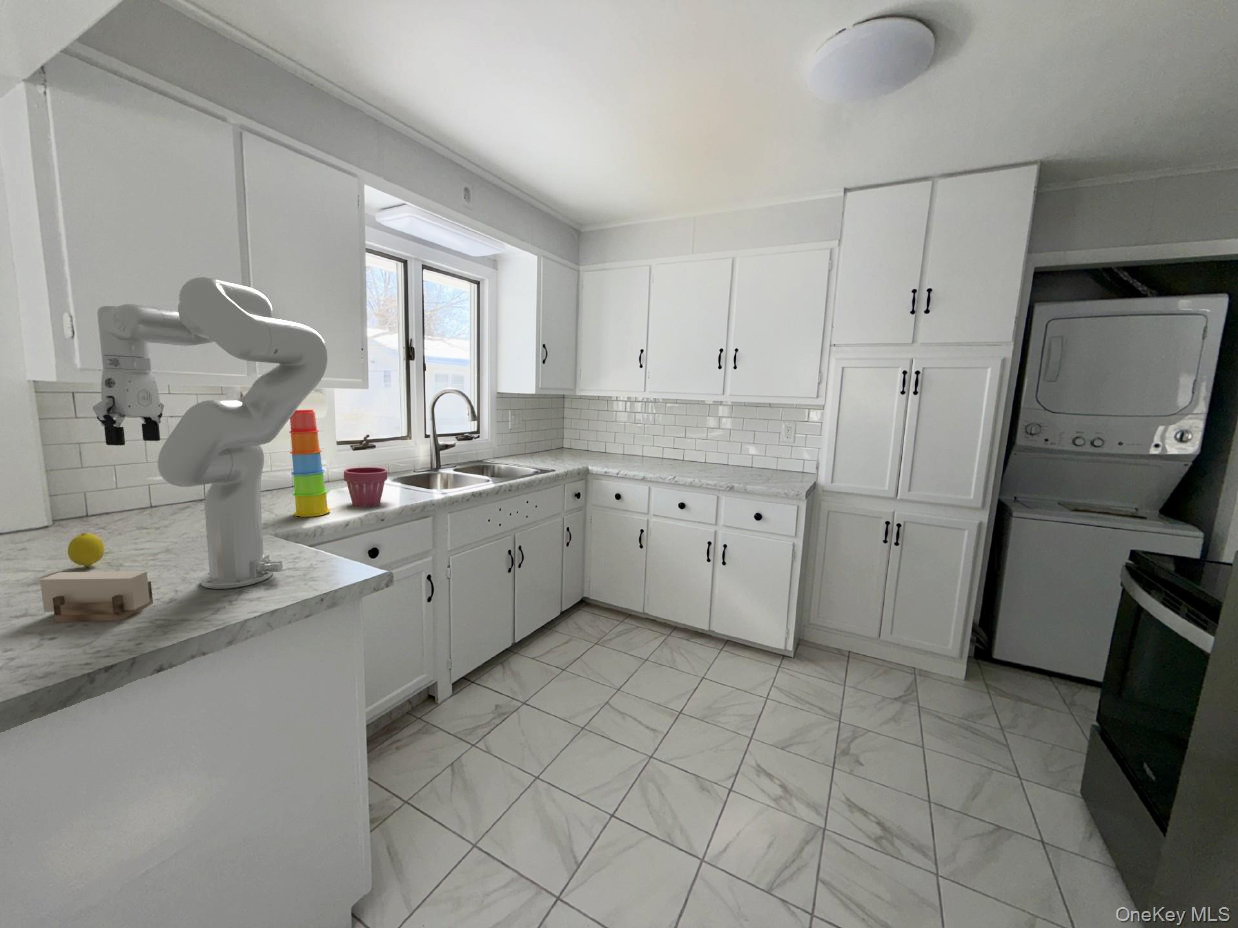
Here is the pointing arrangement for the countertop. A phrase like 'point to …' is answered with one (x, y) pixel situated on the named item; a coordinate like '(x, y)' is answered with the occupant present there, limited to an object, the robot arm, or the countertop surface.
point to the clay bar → (96, 588)
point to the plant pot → (365, 485)
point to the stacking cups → (307, 466)
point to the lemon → (86, 549)
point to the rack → (94, 609)
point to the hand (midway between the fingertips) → (134, 442)
